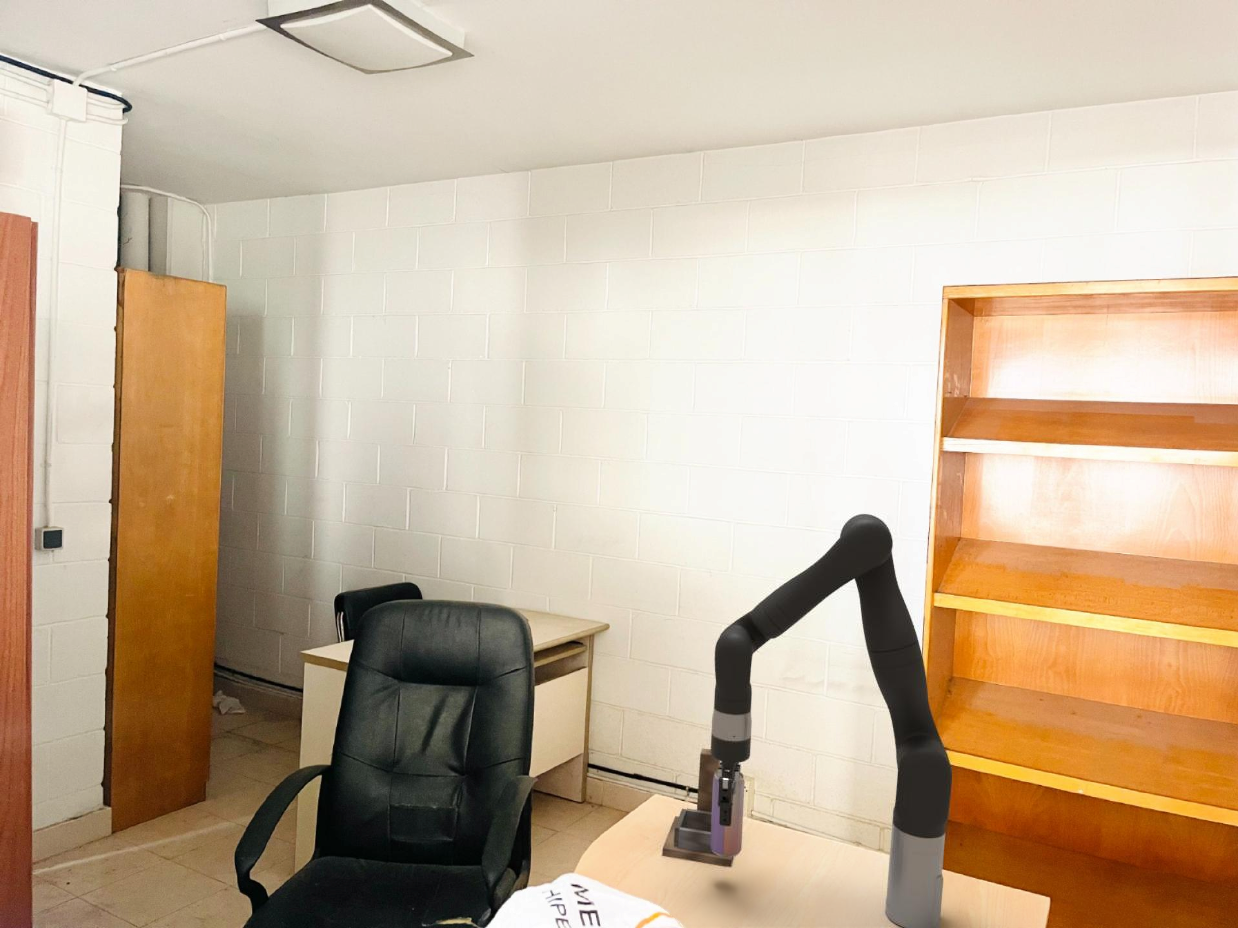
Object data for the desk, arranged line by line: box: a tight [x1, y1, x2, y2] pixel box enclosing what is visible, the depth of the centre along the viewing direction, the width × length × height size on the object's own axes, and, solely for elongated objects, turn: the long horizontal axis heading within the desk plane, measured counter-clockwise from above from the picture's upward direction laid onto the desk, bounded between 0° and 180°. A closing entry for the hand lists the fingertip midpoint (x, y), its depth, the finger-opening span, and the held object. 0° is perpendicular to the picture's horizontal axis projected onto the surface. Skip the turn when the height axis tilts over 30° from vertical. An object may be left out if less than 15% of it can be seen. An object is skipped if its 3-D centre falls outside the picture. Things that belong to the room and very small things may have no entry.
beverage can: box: [710, 771, 746, 858], centre depth 175 cm, size 6×6×15 cm
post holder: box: [661, 748, 734, 868], centre depth 191 cm, size 14×15×18 cm
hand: (727, 816), depth 175 cm, fingers closed on beverage can, 6 cm apart
